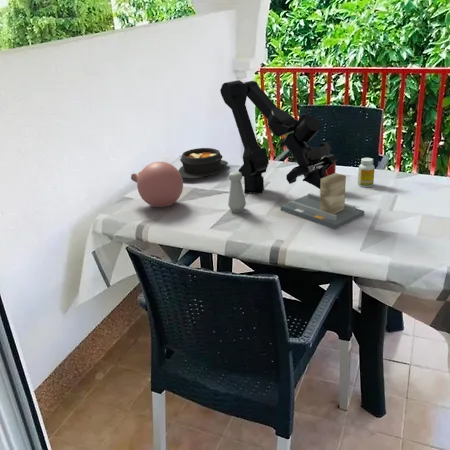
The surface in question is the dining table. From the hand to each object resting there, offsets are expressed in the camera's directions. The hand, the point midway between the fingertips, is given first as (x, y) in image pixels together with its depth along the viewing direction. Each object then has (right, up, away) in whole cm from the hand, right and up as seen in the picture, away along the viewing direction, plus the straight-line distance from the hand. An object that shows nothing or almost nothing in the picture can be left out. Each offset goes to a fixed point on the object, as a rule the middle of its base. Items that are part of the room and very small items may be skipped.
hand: (326, 191), depth 155 cm
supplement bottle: (+19, +4, +25) cm, 31 cm away
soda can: (+5, +2, +22) cm, 23 cm away
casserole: (-41, +10, +48) cm, 64 cm away
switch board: (-1, -7, +5) cm, 8 cm away
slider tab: (+2, -6, +1) cm, 6 cm away
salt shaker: (-27, -6, +11) cm, 30 cm away
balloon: (-55, -4, +19) cm, 58 cm away
